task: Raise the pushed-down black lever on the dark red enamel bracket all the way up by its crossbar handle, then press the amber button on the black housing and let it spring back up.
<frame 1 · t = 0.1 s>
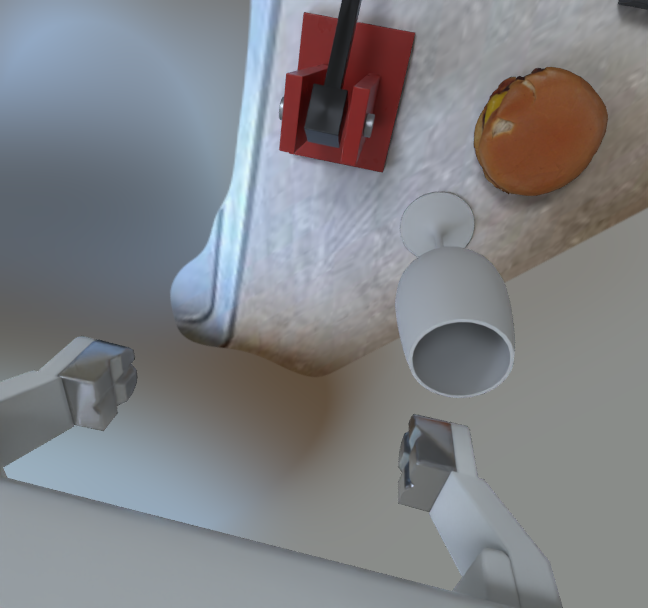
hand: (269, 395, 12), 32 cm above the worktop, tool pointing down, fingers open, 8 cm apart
wineglass: (436, 226, 42), on the worktop
bracket: (347, 97, 37), on the worktop
lever: (347, 20, 26), point 9 cm above the worktop, hinge at -30.0°
burger: (527, 132, 36), on the worktop
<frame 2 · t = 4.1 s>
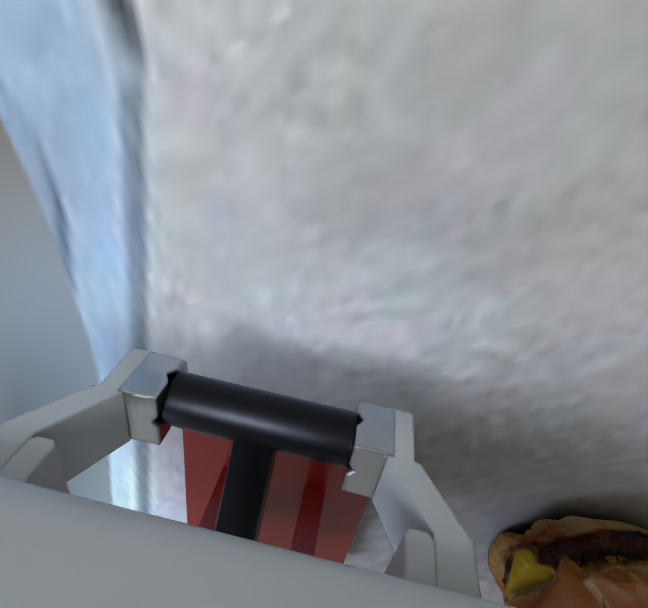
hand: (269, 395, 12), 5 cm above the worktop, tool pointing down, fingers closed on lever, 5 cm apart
bracket: (276, 482, 22), on the worktop
burger: (580, 554, 21), on the worktop
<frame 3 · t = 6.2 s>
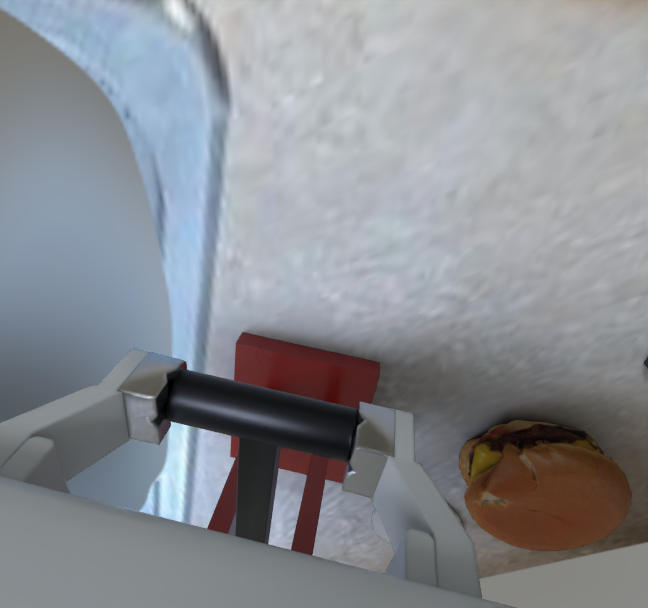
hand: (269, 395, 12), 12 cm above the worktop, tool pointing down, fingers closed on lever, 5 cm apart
bracket: (300, 407, 29), on the worktop
lever: (253, 533, 15), point 12 cm above the worktop, hinge at 3.5°, touching gripper
burger: (526, 457, 29), on the worktop
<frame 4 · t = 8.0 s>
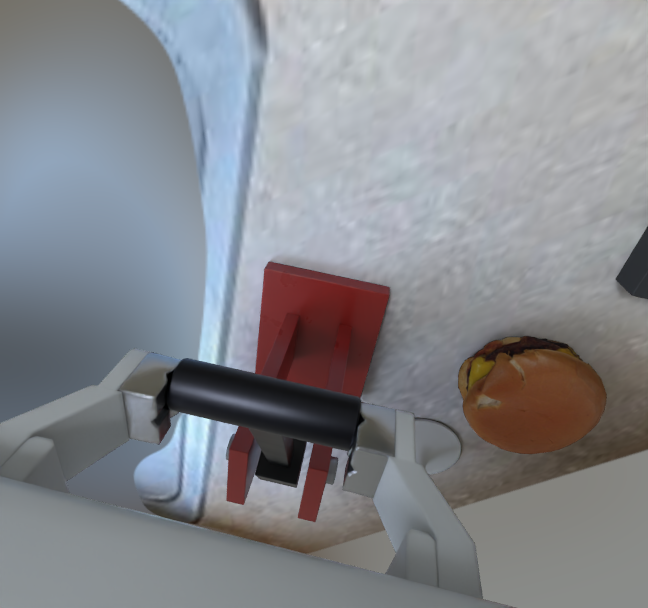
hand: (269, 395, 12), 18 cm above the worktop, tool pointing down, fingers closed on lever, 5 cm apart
wineglass: (419, 445, 38), on the worktop
bracket: (317, 334, 33), on the worktop
lever: (277, 441, 17), point 15 cm above the worktop, hinge at 31.0°, touching gripper
burger: (517, 376, 32), on the worktop
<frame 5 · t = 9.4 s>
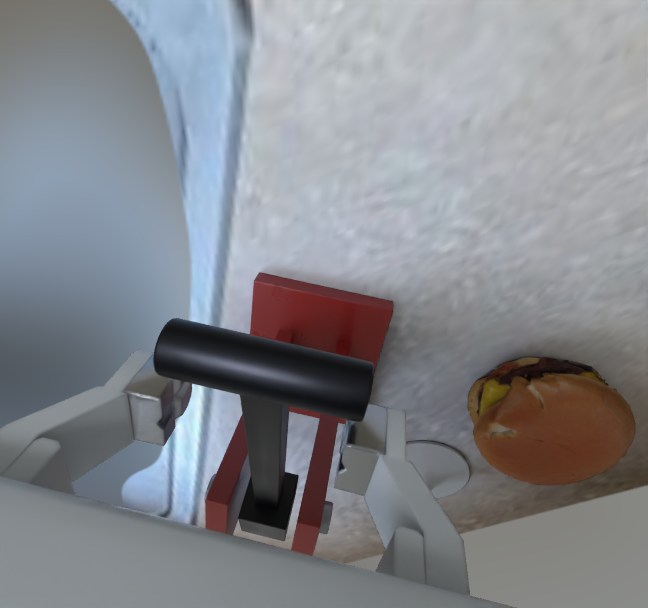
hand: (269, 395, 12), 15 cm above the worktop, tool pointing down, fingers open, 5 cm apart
wineglass: (424, 467, 35), on the worktop
bracket: (313, 350, 30), on the worktop
lever: (268, 461, 15), point 14 cm above the worktop, hinge at 18.1°
burger: (533, 398, 29), on the worktop
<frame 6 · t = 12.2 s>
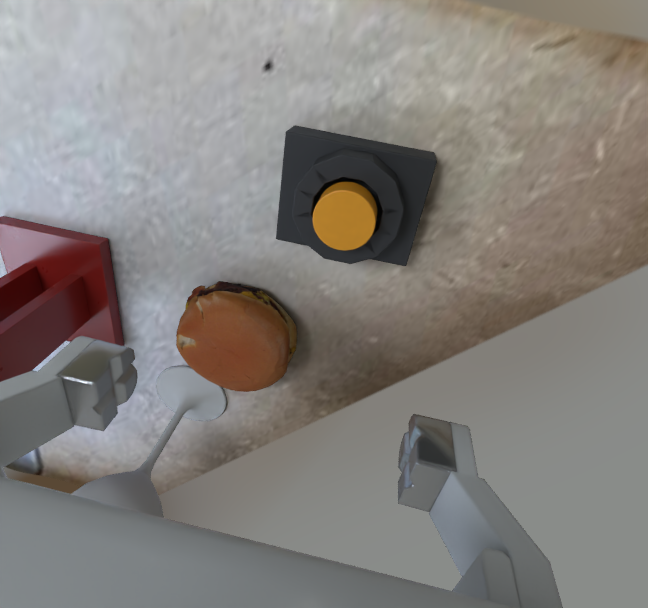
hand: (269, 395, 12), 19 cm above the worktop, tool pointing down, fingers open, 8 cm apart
wineglass: (192, 392, 41), on the worktop
button box: (353, 192, 28), on the worktop
bracket: (68, 285, 36), on the worktop
button: (345, 216, 24), point 5 cm above the worktop, slide at 0.2 cm
burger: (245, 322, 36), on the worktop
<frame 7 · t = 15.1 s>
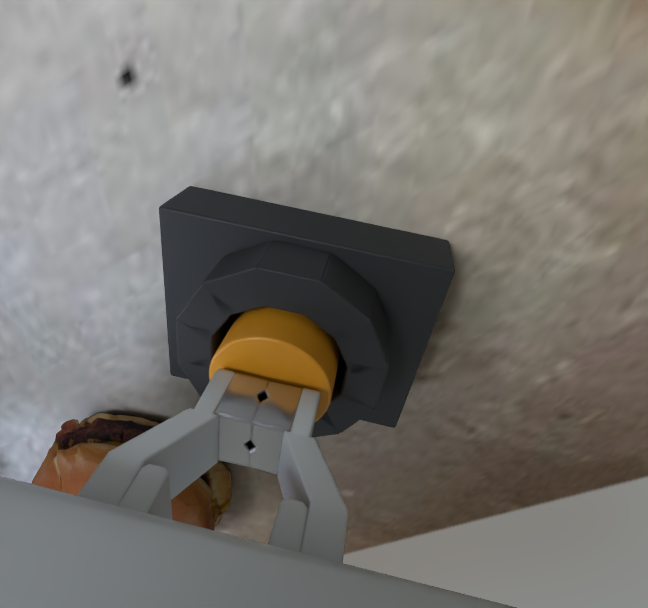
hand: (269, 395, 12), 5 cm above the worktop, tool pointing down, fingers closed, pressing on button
button box: (304, 297, 16), on the worktop
button: (276, 368, 13), point 4 cm above the worktop, slide at -0.3 cm, touching gripper
burger: (156, 457, 24), on the worktop
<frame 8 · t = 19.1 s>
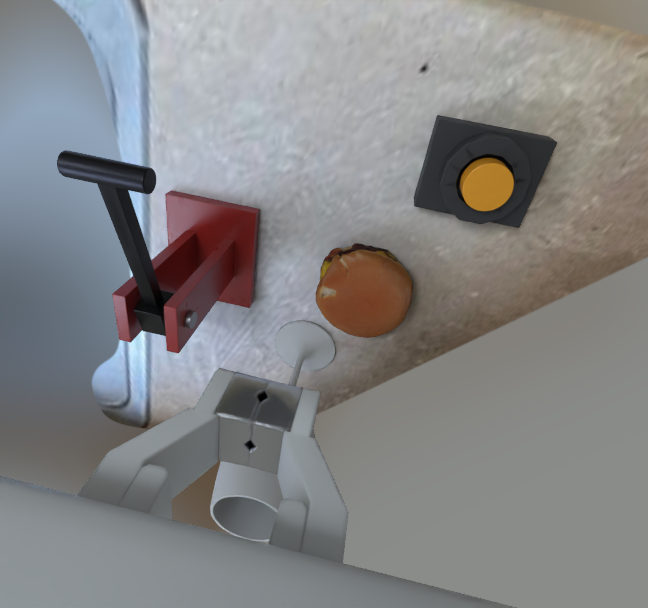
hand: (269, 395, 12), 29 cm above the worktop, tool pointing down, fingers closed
wineglass: (305, 345, 48), on the worktop
button box: (477, 169, 35), on the worktop
bracket: (214, 249, 43), on the worktop
lever: (138, 258, 29), point 14 cm above the worktop, hinge at 18.1°
button: (486, 184, 31), point 5 cm above the worktop, slide at 0.1 cm
burger: (364, 281, 43), on the worktop
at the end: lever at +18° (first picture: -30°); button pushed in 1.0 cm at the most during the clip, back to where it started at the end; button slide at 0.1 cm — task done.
